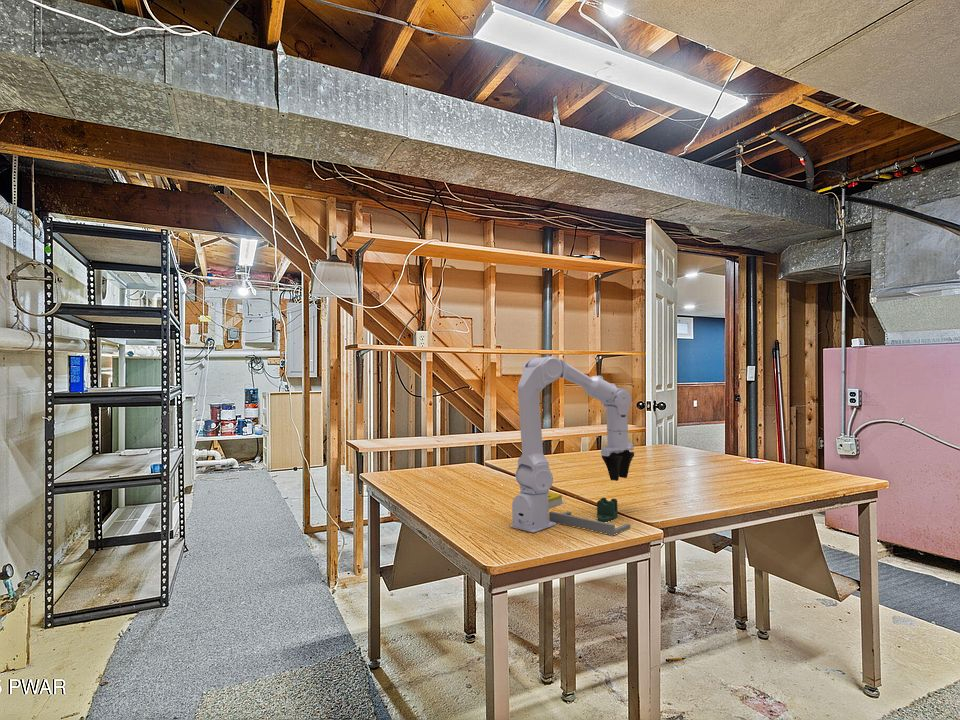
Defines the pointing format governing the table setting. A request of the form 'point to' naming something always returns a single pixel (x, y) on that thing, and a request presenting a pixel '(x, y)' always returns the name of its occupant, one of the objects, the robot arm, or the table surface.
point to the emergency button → (554, 500)
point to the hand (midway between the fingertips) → (618, 478)
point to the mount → (607, 510)
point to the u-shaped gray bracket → (586, 523)
